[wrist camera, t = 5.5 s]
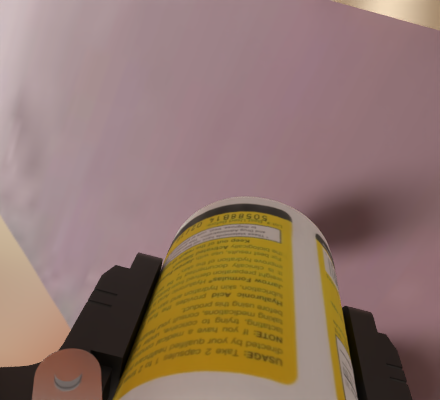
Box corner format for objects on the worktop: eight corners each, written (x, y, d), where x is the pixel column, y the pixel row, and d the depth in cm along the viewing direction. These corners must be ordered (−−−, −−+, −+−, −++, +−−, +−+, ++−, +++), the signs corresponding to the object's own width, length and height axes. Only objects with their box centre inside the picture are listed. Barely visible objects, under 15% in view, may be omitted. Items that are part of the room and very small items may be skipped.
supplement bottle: (142, 264, 15) (-43, 670, 6) (237, 157, 12) (146, 587, 4) (259, 342, 16) (237, 772, 7) (368, 258, 13) (521, 758, 5)
